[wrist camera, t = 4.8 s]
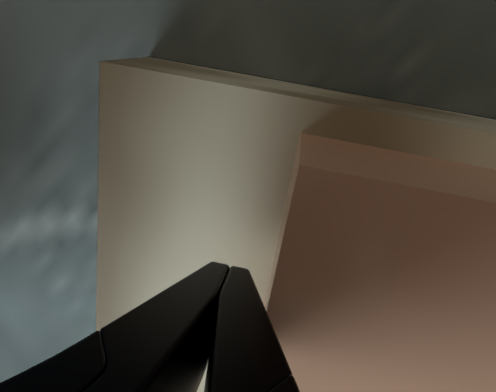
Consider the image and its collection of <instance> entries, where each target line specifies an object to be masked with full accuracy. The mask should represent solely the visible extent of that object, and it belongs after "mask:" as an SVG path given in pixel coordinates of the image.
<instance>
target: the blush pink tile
mask: <svg viewBox="0 0 496 392" xmlns="http://www.w3.org/2000/svg"><path fill="white" fill-rule="evenodd" d="M264 307H265V309H266V312H267V314H268V316H269V319H270V321H271V324H272V326H273V328H274V331H275V333H276V336H277V338H278V340H279V343H280V345H281V348H282V350H283V352H284V355H285V357H286V360H287V362H288V364H289V367H290V369H291V372H292V376H293V377H294V378H295V381H296V383H297V386H298V388H299V390H300V392H496V170H495V169H490V168H484V167H479V166H474V165H468V164H463V163H458V162H453V161H447V160H442V159H437V158H431V157H426V156H421V155H415V154H410V153H405V152H400V151H394V150H389V149H384V148H378V147H373V146H368V145H363V144H357V143H352V142H347V141H341V140H336V139H331V138H325V137H320V136H315V135H310V134H304V133H300V137H299V142H298V147H297V151H296V156H295V161H294V165H293V170H292V175H291V179H290V184H289V188H288V193H287V198H286V202H285V207H284V212H283V216H282V221H281V226H280V230H279V235H278V240H277V244H276V249H275V254H274V258H273V263H272V267H271V272H270V277H269V281H268V286H267V291H266V295H265V300H264Z"/></svg>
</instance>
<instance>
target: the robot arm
mask: <svg viewBox="0 0 496 392" xmlns="http://www.w3.org/2000/svg"><path fill="white" fill-rule="evenodd" d="M207 364H208V366H207ZM206 367H207V372H206V379H205V386H204V392H300V390H299V388H298V386H297V383H296V381H295V378H294V377H293V376H292V372H291V369H290V367H289V364H288V362H287V360H286V357H285V355H284V352H283V350H282V348H281V345H280V343H279V340H278V338H277V336H276V333H275V331H274V328H273V326H272V324H271V321H270V319H269V316H268V314H267V312H266V309H265V307H264V304H263V302H262V300H261V297H260V295H259V292H258V290H257V288H256V285H255V283H254V280H253V278H252V276H251V273H250V271H249V270H248V269H246V268H242V267H237V266H231V267H229V265H227V264H223V263H218V262H210V263H208V264H206V265H205V266H203V267H202V268H200V269H198V270H197V271H195V272H193V273H192V274H190V275H188V276H187V277H185V278H183V279H182V280H180V281H178V282H177V283H175V284H174V285H172V286H170V287H169V288H167V289H165V290H164V291H162V292H160V293H159V294H157V295H155V296H154V297H152V298H150V299H149V300H147V301H146V302H144V303H142V304H141V305H139V306H137V307H136V308H134V309H132V310H131V311H129V312H127V313H126V314H124V315H122V316H121V317H119V318H117V319H116V320H114V321H113V322H111V323H109V324H108V325H106V326H104V327H103V328H101V329H100V331H96V332H94V333H92V334H91V335H89V336H88V337H86V338H84V339H83V340H81V341H79V342H77V343H76V344H74V345H72V346H70V347H69V348H67V349H65V350H63V351H62V352H60V353H58V354H56V355H55V356H53V357H51V358H49V359H47V360H45V361H43V362H41V363H39V364H37V365H35V366H33V367H31V368H29V369H28V370H26V371H24V372H22V373H20V374H18V375H16V376H14V377H11V378H9V379H7V380H5V381H3V382H1V383H0V392H197V390H198V388H199V385H200V383H201V380H202V378H203V375H204V372H205V370H206Z"/></svg>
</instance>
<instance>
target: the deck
mask: <svg viewBox="0 0 496 392" xmlns="http://www.w3.org/2000/svg"><path fill="white" fill-rule="evenodd" d="M300 133H304V134H310V135H315V136H320V137H325V138H331V139H336V140H341V141H347V142H352V143H357V144H363V145H368V146H373V147H378V148H384V149H389V150H394V151H400V152H405V153H410V154H415V155H421V156H426V157H431V158H437V159H442V160H447V161H453V162H458V163H463V164H468V165H474V166H479V167H484V168H490V169H495V170H496V120H495V119H489V118H484V117H478V116H473V115H467V114H462V113H456V112H451V111H445V110H440V109H434V108H429V107H423V106H417V105H412V104H406V103H401V102H395V101H390V100H384V99H379V98H373V97H368V96H362V95H357V94H351V93H346V92H340V91H334V90H329V89H323V88H318V87H312V86H307V85H301V84H296V83H290V82H285V81H279V80H274V79H268V78H263V77H257V76H252V75H246V74H240V73H235V72H229V71H224V70H218V69H213V68H207V67H202V66H196V65H191V64H185V63H180V62H174V61H169V60H163V59H157V58H152V57H142V58H131V59H120V60H108V61H100V86H99V158H98V230H97V302H96V331H100V329H101V328H103V327H104V326H106V325H108V324H109V323H111V322H113V321H114V320H116V319H117V318H119V317H121V316H122V315H124V314H126V313H127V312H129V311H131V310H132V309H134V308H136V307H137V306H139V305H141V304H142V303H144V302H146V301H147V300H149V299H150V298H152V297H154V296H155V295H157V294H159V293H160V292H162V291H164V290H165V289H167V288H169V287H170V286H172V285H174V284H175V283H177V282H178V281H180V280H182V279H183V278H185V277H187V276H188V275H190V274H192V273H193V272H195V271H197V270H198V269H200V268H202V267H203V266H205V265H206V264H208V263H210V262H218V263H223V264H227V265H229V267H231V266H237V267H242V268H246V269H248V270H249V271H250V273H251V276H252V278H253V280H254V283H255V285H256V288H257V290H258V292H259V295H260V297H261V300H262V302H263V304H264V300H265V295H266V291H267V286H268V281H269V277H270V272H271V267H272V263H273V258H274V254H275V249H276V244H277V240H278V235H279V230H280V226H281V221H282V216H283V212H284V207H285V202H286V198H287V193H288V188H289V184H290V179H291V175H292V170H293V165H294V161H295V156H296V151H297V147H298V142H299V137H300ZM207 366H208V364H207ZM206 372H207V367H206V370H205V372H204V375H203V378H202V380H201V383H200V385H199V388H198V390H197V392H204V386H205V379H206Z"/></svg>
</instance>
